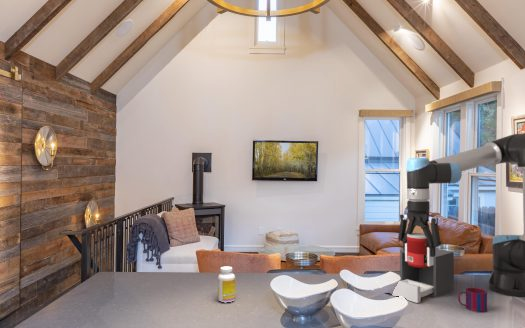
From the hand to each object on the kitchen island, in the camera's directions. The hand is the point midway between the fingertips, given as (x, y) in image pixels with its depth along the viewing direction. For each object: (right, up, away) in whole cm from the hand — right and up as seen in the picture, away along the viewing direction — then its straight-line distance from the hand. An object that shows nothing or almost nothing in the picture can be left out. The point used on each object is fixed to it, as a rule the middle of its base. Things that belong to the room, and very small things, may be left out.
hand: (419, 262), depth 136 cm
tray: (+3, -17, +16) cm, 23 cm away
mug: (+19, -17, +1) cm, 26 cm away
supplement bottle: (-71, -18, +10) cm, 74 cm away
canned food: (0, -1, 0) cm, 1 cm away
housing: (+13, -17, +23) cm, 31 cm away
